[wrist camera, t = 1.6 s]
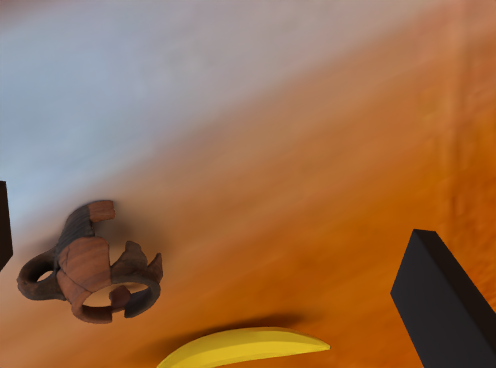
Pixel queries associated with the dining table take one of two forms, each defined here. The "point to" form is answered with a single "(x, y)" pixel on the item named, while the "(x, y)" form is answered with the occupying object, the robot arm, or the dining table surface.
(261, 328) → the banana
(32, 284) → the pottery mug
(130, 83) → the dining table surface
